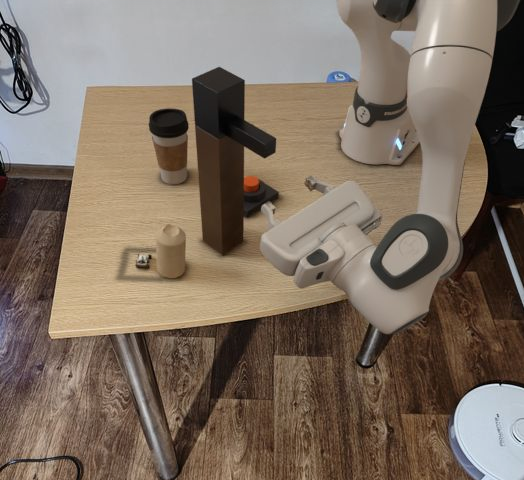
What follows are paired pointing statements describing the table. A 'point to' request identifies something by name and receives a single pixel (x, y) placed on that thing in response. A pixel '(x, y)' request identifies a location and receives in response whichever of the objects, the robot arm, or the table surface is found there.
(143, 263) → the toy car
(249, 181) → the switch button
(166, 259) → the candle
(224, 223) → the post
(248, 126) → the black hammer
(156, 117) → the coffee cup
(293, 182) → the table surface
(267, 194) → the switch plate
